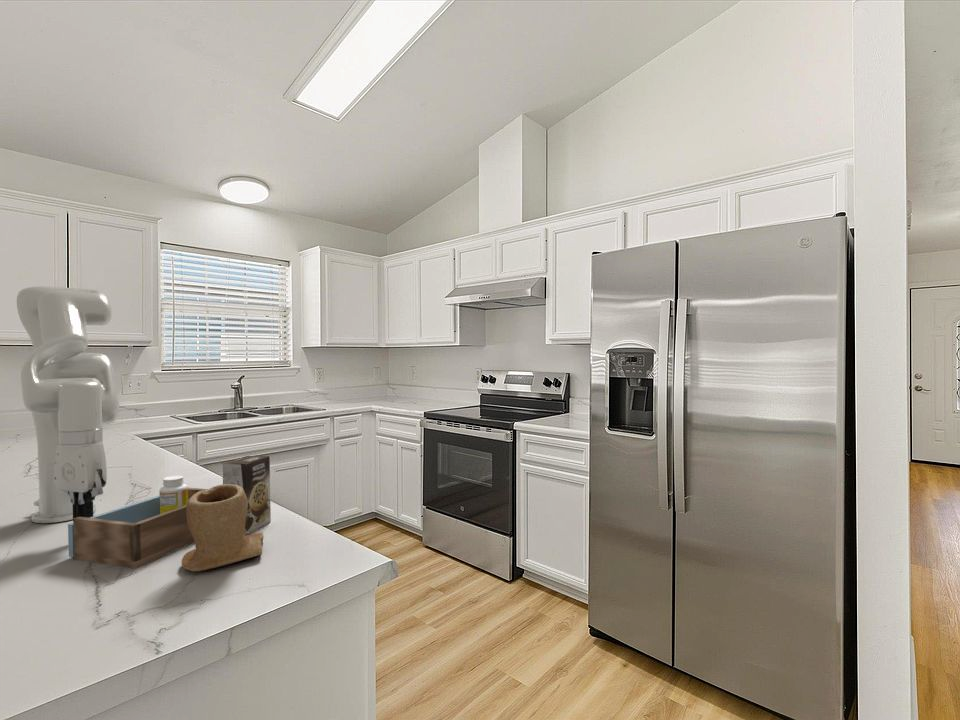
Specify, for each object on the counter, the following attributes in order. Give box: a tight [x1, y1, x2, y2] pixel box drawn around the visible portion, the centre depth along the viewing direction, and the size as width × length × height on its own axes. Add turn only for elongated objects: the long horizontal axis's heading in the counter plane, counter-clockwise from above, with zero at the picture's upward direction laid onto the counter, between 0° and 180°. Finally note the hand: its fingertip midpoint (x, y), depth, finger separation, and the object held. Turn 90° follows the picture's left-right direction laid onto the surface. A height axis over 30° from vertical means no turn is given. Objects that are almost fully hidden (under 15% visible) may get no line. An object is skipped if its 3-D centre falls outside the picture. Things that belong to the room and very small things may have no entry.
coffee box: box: [222, 455, 272, 536], centre depth 117 cm, size 9×6×16 cm
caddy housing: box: [72, 487, 209, 569], centre depth 110 cm, size 16×24×8 cm, turn 163°
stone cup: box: [181, 484, 264, 572], centre depth 98 cm, size 15×12×15 cm
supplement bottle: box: [159, 475, 189, 514], centre depth 116 cm, size 6×6×10 cm
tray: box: [67, 494, 160, 558], centre depth 110 cm, size 16×24×7 cm, turn 163°
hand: (83, 519), depth 111 cm, fingers closed
